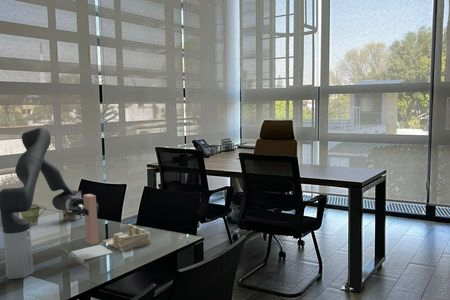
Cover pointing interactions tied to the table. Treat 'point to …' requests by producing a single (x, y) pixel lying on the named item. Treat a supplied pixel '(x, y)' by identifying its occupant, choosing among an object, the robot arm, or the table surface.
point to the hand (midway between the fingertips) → (92, 212)
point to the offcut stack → (118, 239)
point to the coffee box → (70, 216)
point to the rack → (132, 238)
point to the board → (91, 219)
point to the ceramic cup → (32, 214)
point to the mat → (90, 252)
